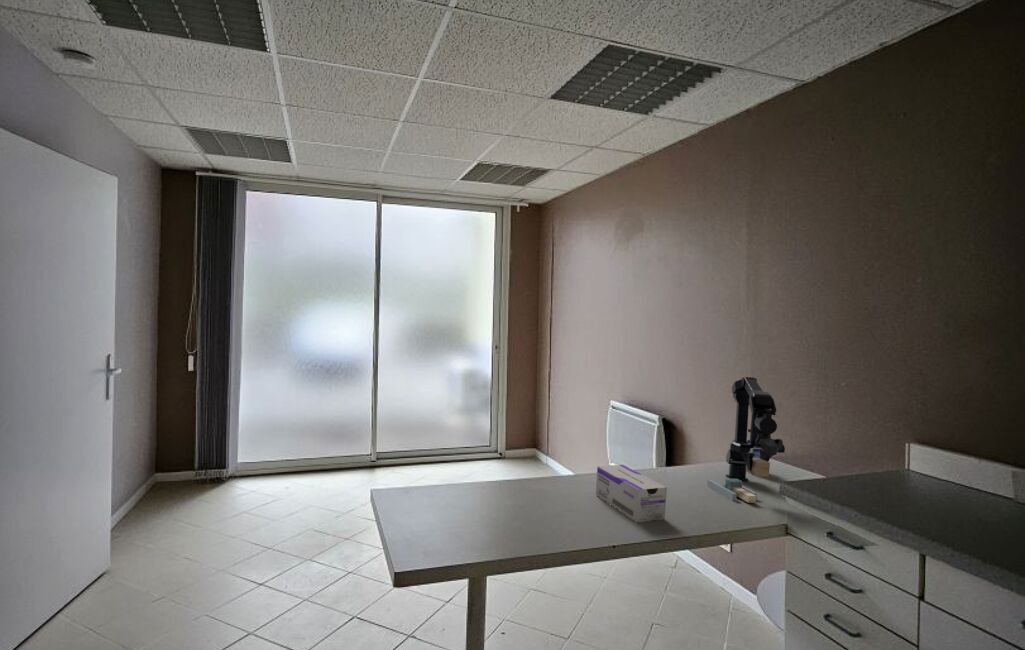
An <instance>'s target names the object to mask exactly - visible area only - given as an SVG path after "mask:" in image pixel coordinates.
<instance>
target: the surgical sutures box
mask: <svg viewBox="0 0 1025 650" xmlns="http://www.w3.org/2000/svg"><path fill="white" fill-rule="evenodd" d="M596 467H597V468H596V469H597V470H596V483H595V496H596V495H597V496H596V497H598V496H599V497H600V498H599V497H598V498H599V499H601V500H602V499H603V500H602V501H604V500H605V501H606V503H607V502H608V503H609V504H611V505H612V506H614V507H615V508H617V509H618V510H620V511H621V512H622V514H623V513H624V514H625V516H626V517H627V516H628V517H627V518H629V519H630V518H631V519H630V520H632V521H633V520H634V522H635V523H636V522H639V523H644V522H643V521H648V522H652V521H651V520H656V521H663V520H662V519H666V518H665V517H666V503H667V502H666V500H667V486H664V485H663V484H661V483H659V482H657V481H655V480H653V479H652V478H649V477H647V476H645V475H643V474H642V473H641V472H638V471H636V470H634V469H633V468H630V467H628V466H626V465H624V464H613V465H597V466H596ZM605 501H604V502H605ZM608 503H607V504H608ZM609 504H608V505H609ZM611 505H610V506H611ZM612 506H611V507H612ZM614 507H613V508H614ZM615 508H614V509H615ZM617 509H616V510H617ZM618 510H617V511H618ZM620 511H619V512H620ZM621 512H620V513H621ZM624 514H623V515H624Z"/></svg>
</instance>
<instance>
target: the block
mask: <svg viewBox="0 0 1025 650" xmlns="http://www.w3.org/2000/svg"><path fill="white" fill-rule="evenodd" d="M770 464H771V462H770V461H768V462H767V461H765V460H763V459H760V458H753V461H752V470H751V471H749V470H748V467H747V465H746V473H748V474H750V475H751V474H752V476H755V477H756V478H757V477H758V478H759V477H770V467H771V465H770Z"/></svg>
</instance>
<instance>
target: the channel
mask: <svg viewBox="0 0 1025 650" xmlns="http://www.w3.org/2000/svg"><path fill="white" fill-rule="evenodd" d="M706 483H707V485H706V486H707V487H708V488H710V489H712V490H713V491H715V492H717V493H719V494H721V495H722V496H724V497H725V498H727V499H729V500H730V501H733V502H736V501H737V494H736V493H734V492H732V491H731V490H729V489H727V488H725V485H721V484H720V483H718V482H716V481H714V480H712V479H707V481H706ZM742 489H744V490H746V491H748V492H750V493H752V494H754V495H756V501H757V500H758V499H757V498H758V493H757V492H755V491H754V490H752V489H749V488H747V487H746V486H744V485H742Z"/></svg>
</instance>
